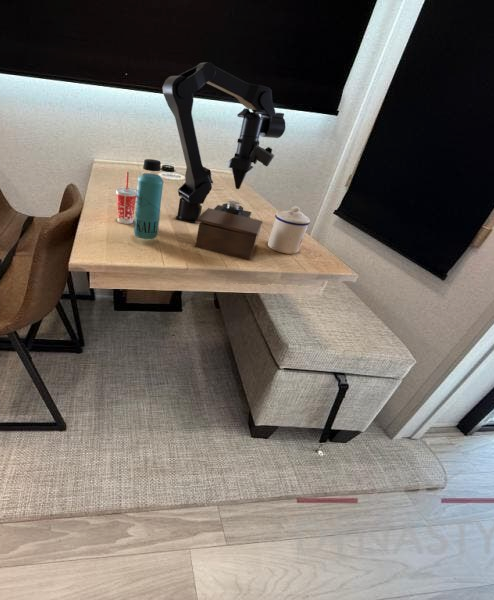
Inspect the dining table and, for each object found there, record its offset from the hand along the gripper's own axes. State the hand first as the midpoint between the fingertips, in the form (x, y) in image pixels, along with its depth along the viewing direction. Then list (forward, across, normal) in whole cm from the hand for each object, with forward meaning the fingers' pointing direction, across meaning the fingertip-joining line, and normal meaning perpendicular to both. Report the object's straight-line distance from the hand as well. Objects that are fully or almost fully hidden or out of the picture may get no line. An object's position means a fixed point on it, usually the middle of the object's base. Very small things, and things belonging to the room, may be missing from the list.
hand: (237, 188), depth 107 cm
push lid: (+6, 0, 0) cm, 6 cm away
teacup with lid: (+10, -16, -18) cm, 26 cm away
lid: (+3, -26, -3) cm, 27 cm away
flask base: (+10, 0, 0) cm, 10 cm away
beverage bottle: (+10, -36, +16) cm, 41 cm away
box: (+10, -26, -4) cm, 28 cm away
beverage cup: (+10, -26, +27) cm, 39 cm away
